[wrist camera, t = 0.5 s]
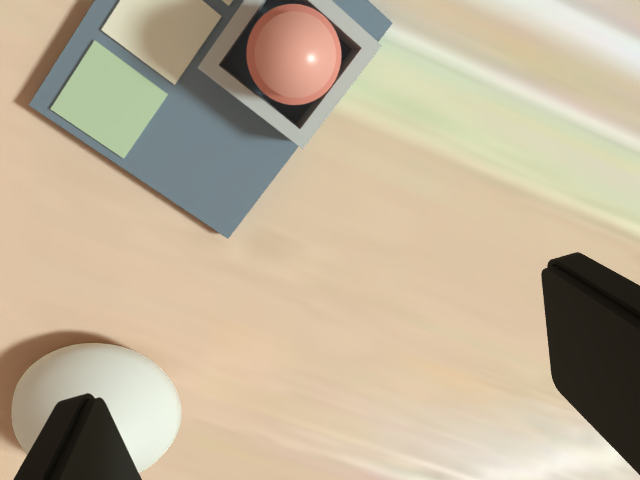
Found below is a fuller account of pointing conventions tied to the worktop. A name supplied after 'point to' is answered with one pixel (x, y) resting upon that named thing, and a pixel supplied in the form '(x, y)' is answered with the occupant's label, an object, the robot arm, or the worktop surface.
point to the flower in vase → (102, 396)
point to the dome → (293, 54)
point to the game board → (193, 96)
